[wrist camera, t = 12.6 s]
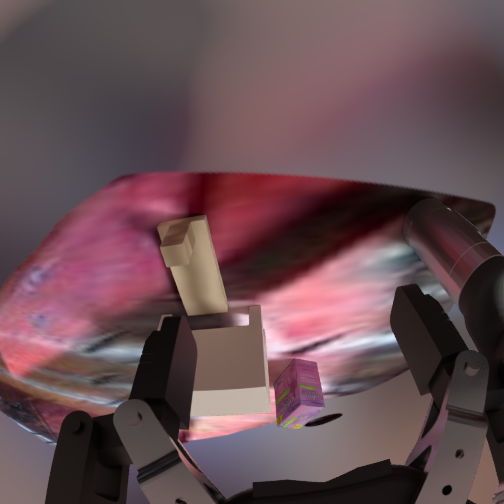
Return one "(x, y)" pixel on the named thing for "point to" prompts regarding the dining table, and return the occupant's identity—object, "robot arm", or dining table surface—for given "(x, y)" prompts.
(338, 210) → the dining table surface
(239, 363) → the notched block
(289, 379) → the box
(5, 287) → the dining table surface
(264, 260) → the dining table surface
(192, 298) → the stepped wooden block
